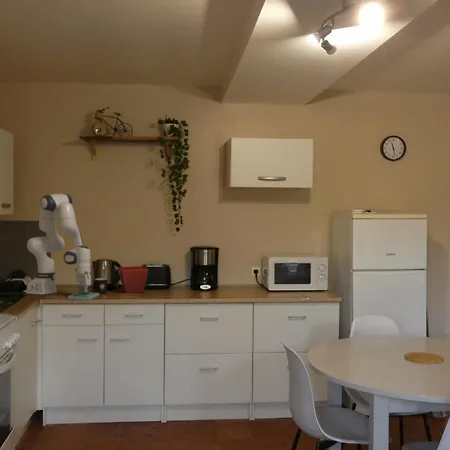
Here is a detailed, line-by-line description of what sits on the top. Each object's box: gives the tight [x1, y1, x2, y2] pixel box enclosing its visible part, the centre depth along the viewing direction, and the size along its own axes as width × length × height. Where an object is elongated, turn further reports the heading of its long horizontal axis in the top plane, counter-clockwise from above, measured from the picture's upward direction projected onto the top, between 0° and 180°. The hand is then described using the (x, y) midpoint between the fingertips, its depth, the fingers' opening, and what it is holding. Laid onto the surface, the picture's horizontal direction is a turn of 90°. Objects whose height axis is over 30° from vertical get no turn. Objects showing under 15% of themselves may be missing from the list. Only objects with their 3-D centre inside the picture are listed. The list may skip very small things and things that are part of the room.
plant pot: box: [117, 265, 149, 294], centre depth 400 cm, size 19×19×17 cm
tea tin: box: [77, 284, 90, 295], centre depth 374 cm, size 5×5×7 cm
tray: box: [67, 292, 100, 301], centre depth 374 cm, size 15×17×2 cm
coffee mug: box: [89, 277, 109, 295], centre depth 391 cm, size 12×9×10 cm
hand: (83, 290), depth 374 cm, fingers closed on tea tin, 7 cm apart
